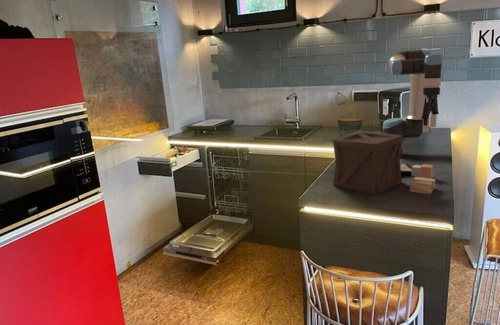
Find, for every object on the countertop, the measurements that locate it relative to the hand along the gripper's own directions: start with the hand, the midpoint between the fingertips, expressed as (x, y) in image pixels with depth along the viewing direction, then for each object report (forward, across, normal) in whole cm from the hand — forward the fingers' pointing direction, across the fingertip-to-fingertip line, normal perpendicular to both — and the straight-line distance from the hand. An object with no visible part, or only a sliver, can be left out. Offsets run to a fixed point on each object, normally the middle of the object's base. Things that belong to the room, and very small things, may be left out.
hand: (429, 129), depth 193 cm
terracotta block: (+26, 0, 0) cm, 26 cm away
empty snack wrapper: (+26, -6, -25) cm, 37 cm away
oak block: (+27, +18, +3) cm, 32 cm away
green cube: (+26, -4, -6) cm, 27 cm away
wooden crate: (+27, +22, -23) cm, 41 cm away
